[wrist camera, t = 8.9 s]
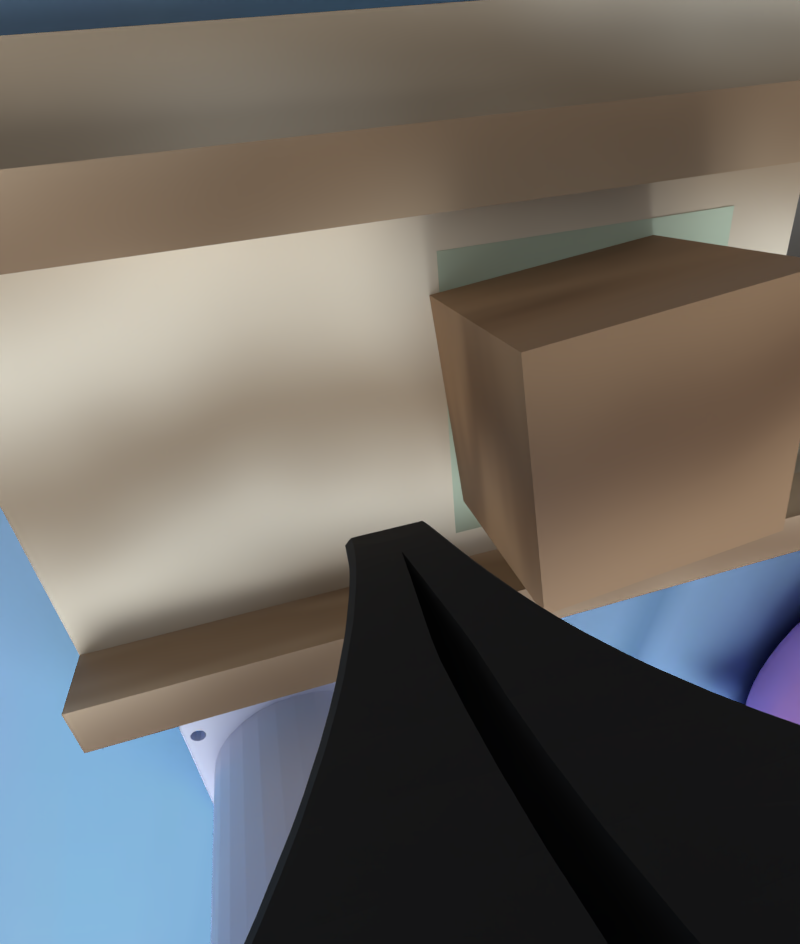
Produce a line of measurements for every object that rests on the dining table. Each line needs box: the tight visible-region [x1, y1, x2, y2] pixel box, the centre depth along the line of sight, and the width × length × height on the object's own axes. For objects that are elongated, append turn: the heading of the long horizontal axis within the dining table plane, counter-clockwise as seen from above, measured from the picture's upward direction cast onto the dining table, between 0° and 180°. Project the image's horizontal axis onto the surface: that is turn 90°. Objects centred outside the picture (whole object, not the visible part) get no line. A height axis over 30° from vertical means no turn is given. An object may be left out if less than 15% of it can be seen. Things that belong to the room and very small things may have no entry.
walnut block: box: [429, 235, 800, 613], centre depth 13 cm, size 6×6×5 cm
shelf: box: [0, 0, 800, 753], centre depth 16 cm, size 17×30×4 cm, turn 96°
